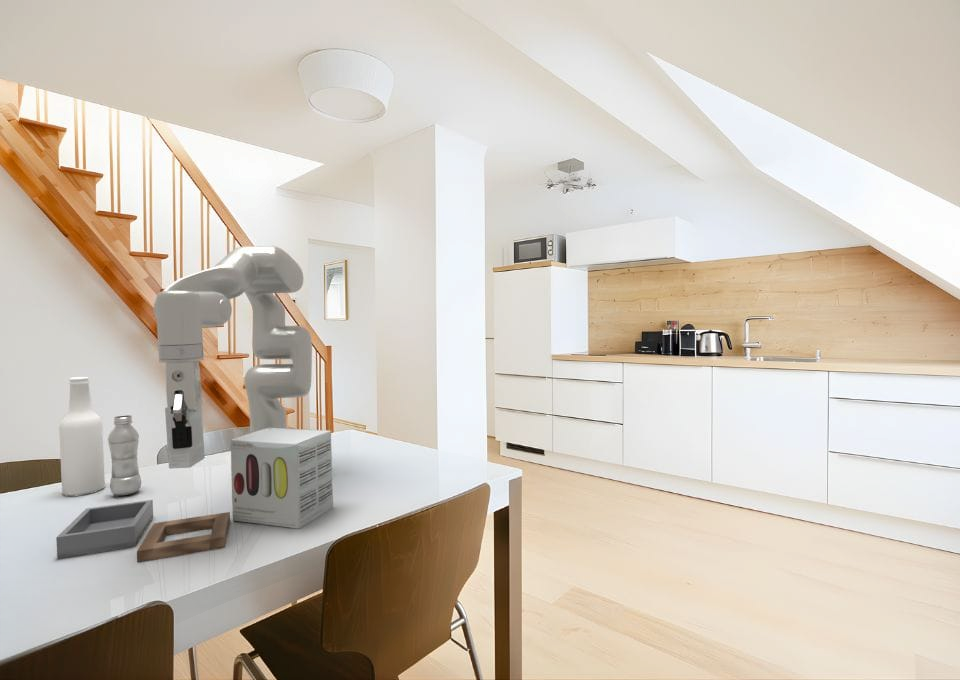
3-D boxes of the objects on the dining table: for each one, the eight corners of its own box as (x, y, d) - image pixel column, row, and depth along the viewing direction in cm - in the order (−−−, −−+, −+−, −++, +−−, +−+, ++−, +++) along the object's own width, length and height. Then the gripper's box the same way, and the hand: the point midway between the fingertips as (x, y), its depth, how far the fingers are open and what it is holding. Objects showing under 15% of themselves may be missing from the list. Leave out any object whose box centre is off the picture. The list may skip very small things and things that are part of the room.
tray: (153, 517, 110) (152, 499, 110) (135, 546, 95) (134, 525, 95) (87, 527, 105) (86, 508, 105) (57, 559, 91) (56, 537, 90)
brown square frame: (230, 521, 107) (229, 511, 107) (224, 547, 94) (224, 536, 94) (154, 532, 102) (153, 523, 101) (137, 562, 89) (136, 551, 89)
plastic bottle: (125, 499, 122) (122, 419, 122) (103, 497, 124) (100, 418, 123) (148, 490, 129) (145, 414, 128) (126, 489, 130) (123, 414, 130)
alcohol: (81, 485, 134) (77, 375, 133) (113, 485, 134) (108, 375, 133) (52, 497, 125) (47, 379, 124) (86, 496, 125) (81, 378, 124)
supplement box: (230, 522, 106) (227, 439, 106) (271, 501, 119) (269, 426, 119) (299, 529, 102) (297, 442, 101) (335, 506, 114) (332, 429, 114)
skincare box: (183, 459, 101) (180, 401, 100) (205, 459, 101) (202, 401, 101) (167, 469, 95) (164, 407, 94) (190, 468, 95) (187, 406, 95)
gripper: (197, 355, 90) (201, 451, 91) (208, 350, 106) (212, 432, 107) (148, 357, 87) (154, 456, 88) (167, 351, 103) (171, 435, 104)
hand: (185, 442), depth 98 cm, fingers closed on skincare box, 6 cm apart
